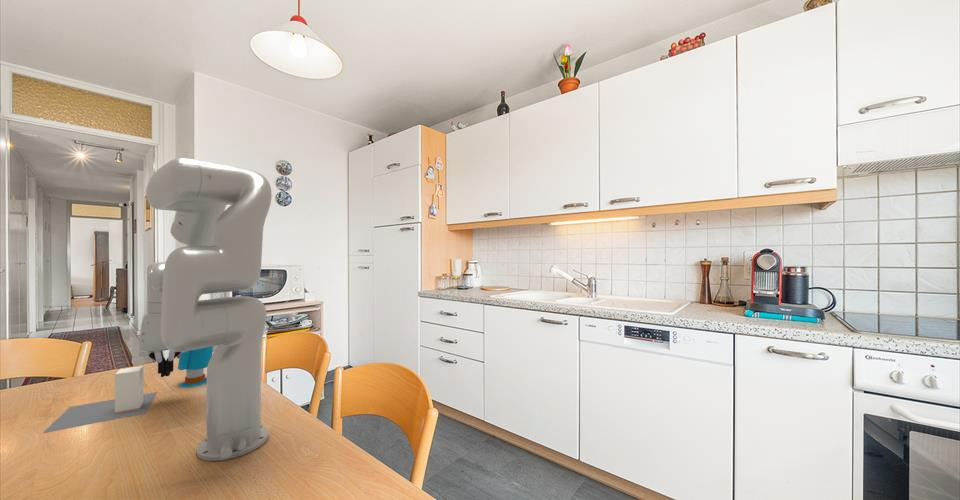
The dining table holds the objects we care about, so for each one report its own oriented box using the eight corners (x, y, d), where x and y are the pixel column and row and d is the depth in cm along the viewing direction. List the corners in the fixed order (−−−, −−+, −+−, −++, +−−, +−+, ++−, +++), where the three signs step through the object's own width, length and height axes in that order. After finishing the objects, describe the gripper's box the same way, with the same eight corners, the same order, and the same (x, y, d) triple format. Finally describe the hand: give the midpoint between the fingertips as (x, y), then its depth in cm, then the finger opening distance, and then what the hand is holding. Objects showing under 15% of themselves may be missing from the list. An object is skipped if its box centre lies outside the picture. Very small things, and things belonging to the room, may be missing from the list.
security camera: (209, 317, 106) (169, 318, 103) (209, 387, 106) (169, 390, 103) (220, 312, 114) (183, 313, 111) (220, 377, 114) (183, 380, 111)
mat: (145, 414, 88) (145, 413, 88) (42, 434, 79) (42, 433, 79) (157, 393, 102) (157, 391, 102) (70, 408, 92) (70, 406, 92)
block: (139, 409, 90) (139, 370, 90) (114, 414, 88) (115, 374, 88) (143, 403, 94) (143, 365, 94) (119, 407, 92) (119, 369, 92)
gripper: (202, 303, 102) (202, 366, 102) (131, 308, 94) (131, 376, 94) (199, 307, 96) (199, 373, 96) (123, 312, 88) (123, 385, 88)
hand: (165, 375), depth 95 cm, fingers closed
